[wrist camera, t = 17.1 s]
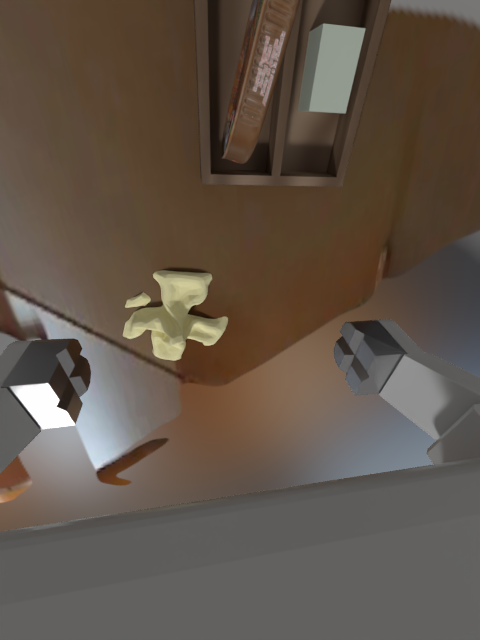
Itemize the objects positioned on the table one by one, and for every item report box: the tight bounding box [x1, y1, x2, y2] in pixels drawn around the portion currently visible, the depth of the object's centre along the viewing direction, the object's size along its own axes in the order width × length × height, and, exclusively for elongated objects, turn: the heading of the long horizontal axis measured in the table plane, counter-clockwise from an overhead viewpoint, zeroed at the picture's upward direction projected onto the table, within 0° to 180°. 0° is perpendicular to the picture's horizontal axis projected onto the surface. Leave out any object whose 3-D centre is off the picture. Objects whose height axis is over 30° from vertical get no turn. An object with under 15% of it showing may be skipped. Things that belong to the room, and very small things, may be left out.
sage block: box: [298, 23, 366, 113], centre depth 27 cm, size 4×6×4 cm, turn 177°
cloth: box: [123, 270, 228, 361], centre depth 44 cm, size 22×19×6 cm
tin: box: [221, 0, 300, 164], centre depth 23 cm, size 15×3×8 cm, turn 163°
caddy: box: [194, 0, 391, 187], centre depth 26 cm, size 17×20×4 cm
